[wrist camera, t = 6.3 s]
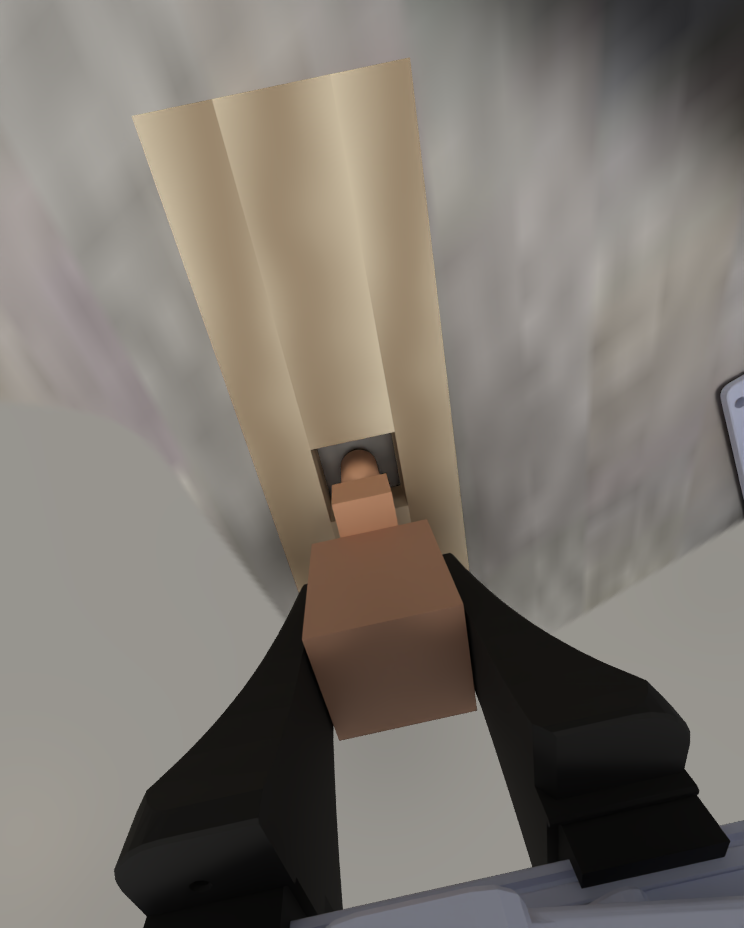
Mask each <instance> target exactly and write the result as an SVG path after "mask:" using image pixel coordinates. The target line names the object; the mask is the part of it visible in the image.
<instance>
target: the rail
mask: <svg viewBox="0 0 744 928" xmlns="http://www.w3.org/2000/svg"><path fill="white" fill-rule="evenodd" d="M132 118H133V121H134V124H135V127H136V130H137V133H138V136H139V138H140V141H141V144H142V147H143V150H144V153H145V155H146V158H147V161H148V164H149V167H150V170H151V173H152V175H153V178H154V181H155V184H156V187H157V190H158V193H159V195H160V198H161V201H162V204H163V207H164V210H165V212H166V215H167V218H168V221H169V224H170V227H171V230H172V232H173V235H174V238H175V241H176V244H177V247H178V250H179V252H180V255H181V258H182V261H183V264H184V267H185V269H186V272H187V275H188V278H189V281H190V284H191V287H192V289H193V292H194V295H195V298H196V301H197V304H198V307H199V309H200V312H201V315H202V318H203V321H204V324H205V326H206V329H207V332H208V335H209V338H210V341H211V344H212V346H213V349H214V352H215V355H216V358H217V361H218V364H219V366H220V369H221V372H222V375H223V378H224V381H225V383H226V386H227V389H228V392H229V395H230V398H231V401H232V403H233V406H234V409H235V412H236V415H237V418H238V421H239V423H240V426H241V429H242V432H243V435H244V438H245V440H246V443H247V446H248V449H249V452H250V455H251V458H252V460H253V463H254V466H255V469H256V472H257V475H258V478H259V480H260V483H261V486H262V489H263V492H264V495H265V497H266V500H267V503H268V506H269V509H270V512H271V515H272V517H273V520H274V523H275V526H276V529H277V532H278V535H279V537H280V540H281V543H282V546H283V549H284V552H285V554H286V557H287V560H288V563H289V566H290V569H291V572H292V574H293V577H294V580H295V583H296V586H297V589H298V592H300V590H301V588H302V587H303V585H304V584H308V576H309V566H310V556H311V546H312V544H314V543H319V542H323V541H328V540H333V539H337V538H340V534H339V530H338V527H337V523H336V519H335V516H334V512H333V508H332V500H331V498H330V494H329V490H328V487H327V483H326V479H325V476H324V472H323V468H322V465H321V461H320V457H319V454H318V450H317V448H322V447H327V446H331V445H336V444H341V443H345V442H350V441H354V440H359V439H364V438H368V437H373V436H378V435H382V434H387V433H391V435H392V441H393V446H394V452H395V457H396V462H397V468H398V473H399V479H400V484H401V485H400V486H395V487H391V492H392V497H393V502H394V507H395V512H396V517H397V522H398V525H402V524H406V523H411V522H416V521H420V520H425V519H427V520H428V523H429V525H430V527H431V530H432V532H433V534H434V537H435V539H436V541H437V544H438V546H439V548H440V551H441V553H442V554H446V553H451V554H453V555H454V556H455V557H456V558H457V559H458V560H459V562H460V563H461V564H462V565H463V566H464V567H465V568H466V569H467V570H468V571H469V564H468V556H467V547H466V538H465V530H464V521H463V512H462V504H461V495H460V487H459V478H458V469H457V461H456V452H455V443H454V435H453V426H452V417H451V409H450V400H449V392H448V383H447V374H446V366H445V357H444V348H443V340H442V331H441V322H440V314H439V305H438V297H437V288H436V279H435V271H434V262H433V253H432V245H431V236H430V227H429V219H428V210H427V202H426V193H425V184H424V176H423V167H422V158H421V150H420V141H419V132H418V124H417V115H416V107H415V98H414V89H413V81H412V72H411V63H410V58H405V59H401V60H396V61H391V62H386V63H382V64H377V65H372V66H367V67H363V68H358V69H353V70H348V71H344V72H339V73H334V74H329V75H325V76H320V77H315V78H310V79H306V80H301V81H296V82H292V83H287V84H282V85H277V86H273V87H268V88H263V89H258V90H254V91H249V92H244V93H239V94H235V95H230V96H225V97H220V98H216V99H211V100H206V101H201V102H197V103H192V104H187V105H182V106H178V107H173V108H168V109H163V110H159V111H154V112H149V113H144V114H140V115H135V116H132Z"/></svg>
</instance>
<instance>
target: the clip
mask: <svg viewBox="0 0 744 928" xmlns="http://www.w3.org/2000/svg"><path fill="white" fill-rule="evenodd" d="M332 508H333V512H334V516H335V519H336V523H337V527H338V530H339V534H340V538H337V539H333V540H328V541H323V542H319V543H314V544H312V546H311V556H310V566H309V576H308V585H307V595H306V605H305V615H304V624H303V634H302V641H303V644H304V647H305V649H306V652H307V655H308V657H309V660H310V663H311V665H312V668H313V671H314V674H315V676H316V679H317V682H318V684H319V687H320V690H321V692H322V695H323V698H324V701H325V703H326V706H327V709H328V711H329V714H330V717H331V719H332V722H333V725H334V727H335V730H336V733H337V735H338V738H339V740H345V739H349V738H354V737H358V736H363V735H368V734H372V733H377V732H381V731H386V730H391V729H395V728H400V727H404V726H409V725H413V724H418V723H422V722H427V721H431V720H436V719H441V718H445V717H450V716H454V715H459V714H463V713H468V712H472V711H477V706H476V699H475V690H474V683H473V675H472V667H471V659H470V652H469V644H468V636H467V628H466V621H465V613H464V605H463V602H462V600H461V598H460V595H459V593H458V591H457V588H456V586H455V584H454V581H453V579H452V577H451V574H450V572H449V570H448V567H447V565H446V563H445V560H444V558H443V556H442V553H441V551H440V548H439V546H438V544H437V541H436V539H435V537H434V534H433V532H432V530H431V527H430V525H429V523H428V520H427V519H425V520H420V521H416V522H411V523H406V524H402V525H398V522H397V517H396V512H395V507H394V502H393V497H392V492H391V488H390V485H389V482H388V478H387V475H386V473H385V474H379V470H378V466H377V463H376V460H375V458H374V456H373V455H372V454H371V453H369V452H367V451H365V450H354V451H351V452H349V453H348V454H347V455H346V456H345V457H344V458H343V460H342V462H341V483H339V484H334V485H332Z"/></svg>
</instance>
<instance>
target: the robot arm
mask: <svg viewBox="0 0 744 928" xmlns="http://www.w3.org/2000/svg"><path fill="white" fill-rule="evenodd" d="M736 400H737V402H736ZM721 402H722V406H723V411H724V415H725V420H726V424H727V428H728V433H729V437H730V441H731V446H732V450H733V454H734V459H735V463H736V468H737V472H738V476H739V481H740V485H741V489H742V494H743V498H744V375H742V376H740V377H739V378H737V379H735V380H733V381H731V382H730V383H728V384H727V385H726V386H725V387H724V388H723V389H722V391H721ZM735 402H736V403H735ZM442 556H443V558H444V560H445V563H446V565H447V567H448V570H449V572H450V574H451V577H452V579H453V581H454V584H455V586H456V588H457V591H458V593H459V595H460V598H461V600H462V602H463V605H464V613H465V621H466V628H467V636H468V644H469V652H470V659H471V667H472V675H473V683H474V690H475V692H476V695H477V697H478V700H479V702H480V705H481V708H482V711H483V714H484V716H485V720H486V723H487V726H488V728H489V732H490V735H491V738H492V740H493V744H494V747H495V750H496V753H497V756H498V759H499V762H500V765H501V768H502V771H503V775H504V778H505V781H506V784H507V787H508V790H509V793H510V797H511V800H512V803H513V805H514V809H515V812H516V815H517V819H518V821H519V825H520V828H521V831H522V835H523V838H524V841H525V844H526V847H527V851H528V854H529V857H530V861H531V864H532V868H527V869H522V870H518V871H514V872H509V873H505V874H500V875H496V876H491V877H487V878H482V879H478V880H473V881H469V882H464V883H460V884H455V885H451V886H446V887H442V888H437V889H433V890H429V891H424V892H419V893H415V894H411V895H406V896H401V897H397V898H392V899H388V900H383V901H379V902H375V903H370V904H365V905H361V906H356V907H352V908H348V909H343V906H342V893H341V879H340V865H339V849H338V832H337V815H336V794H335V774H334V746H333V726H334V725H333V722H332V719H331V717H330V714H329V711H328V709H327V706H326V703H325V701H324V698H323V695H322V692H321V690H320V687H319V684H318V682H317V679H316V676H315V674H314V671H313V668H312V665H311V663H310V660H309V657H308V655H307V652H306V649H305V647H304V644H303V641H302V634H303V624H304V615H305V605H306V595H307V585H308V584H304V585H303V587H302V588H301V590H300V592H299V594H298V596H297V599H296V601H295V603H294V605H293V607H292V609H291V611H290V613H289V615H288V617H287V619H286V621H285V622H284V624H283V626H282V628H281V630H280V632H279V634H278V636H277V637H276V639H275V641H274V642H273V644H272V646H271V647H270V649H269V651H268V652H267V654H266V656H265V657H264V659H263V660H262V662H261V663H260V665H259V666H258V668H257V669H256V671H255V672H254V674H253V675H252V677H251V678H250V680H249V681H248V682H247V684H246V685H245V686H244V688H243V689H242V690H241V692H240V693H239V694H238V696H237V697H236V698H235V699H234V701H233V702H232V703H231V704H230V705H229V707H228V708H227V709H226V710H225V712H224V713H223V714H222V715H221V717H220V718H219V719H218V720H217V721H216V722H215V723H214V724H213V726H212V727H211V728H210V729H209V730H208V731H207V732H206V733H205V734H204V735H203V737H202V738H201V739H200V740H199V741H198V742H197V743H196V744H195V745H194V746H193V747H192V748H191V749H190V750H189V751H188V752H187V753H186V754H185V755H184V756H183V757H182V758H181V759H180V760H179V761H178V762H177V763H176V764H175V765H174V766H173V767H172V768H170V769H169V770H168V771H167V772H166V773H165V774H164V775H163V776H162V777H161V778H160V779H159V780H158V781H157V782H156V783H155V784H154V785H152V786H151V787H150V788H149V789H148V790H147V791H146V793H145V795H144V797H143V800H142V802H141V804H140V806H139V809H138V811H137V813H136V815H135V818H134V820H133V823H132V825H131V828H130V831H129V833H128V836H127V838H126V841H125V843H124V846H123V849H122V851H121V854H120V856H119V859H118V861H117V864H116V867H115V869H114V872H115V880H116V882H117V884H118V886H119V887H120V889H121V890H122V892H123V893H124V894H125V895H126V896H127V897H128V898H129V899H130V900H131V901H132V902H133V903H134V904H135V905H136V906H137V907H138V908H139V909H140V910H141V911H142V912H143V913H144V914H145V915H146V916H147V918H146V921H145V924H144V927H143V928H744V820H743V821H738V822H734V823H729V824H725V825H720V826H719V825H718V823H717V822H716V821H715V819H714V818H713V817H712V815H711V814H710V813H709V811H708V810H707V808H706V807H705V806H704V805H703V803H702V802H701V800H700V799H699V798H698V796H697V795H698V794H699V789H698V787H697V785H696V784H695V782H694V781H693V779H692V778H691V777H690V776H689V774H688V773H687V772H686V770H685V769H684V768H685V763H686V759H687V754H688V750H689V746H690V730H689V728H688V726H687V724H686V722H685V721H684V720H683V719H682V718H681V717H680V715H679V714H678V713H677V712H676V711H675V710H674V708H673V707H672V706H671V705H670V704H669V703H668V702H667V701H666V700H665V698H664V697H663V696H662V695H661V694H660V693H659V692H658V691H656V689H654V688H653V687H652V686H651V685H650V684H649V683H648V681H646V680H644V679H642V678H639V677H637V676H635V675H632V674H630V673H627V672H625V671H622V670H620V669H618V668H615V667H613V666H610V665H608V664H606V663H603V662H601V661H599V660H597V659H595V658H593V657H591V656H589V655H586V654H585V653H583V652H580V651H578V650H577V649H575V648H573V647H571V646H569V645H568V644H566V643H564V642H562V641H561V640H559V639H557V638H555V637H553V636H552V635H550V634H548V633H547V632H545V631H544V630H542V629H540V628H539V627H537V626H536V625H534V624H533V623H531V622H530V621H528V620H527V619H525V618H524V617H522V616H521V615H520V614H518V613H517V612H516V611H514V610H513V609H512V608H510V607H509V606H508V605H506V604H505V603H504V602H503V601H501V600H500V599H499V598H498V597H496V596H495V595H494V594H493V593H492V592H491V591H489V590H488V589H487V588H486V587H485V586H484V585H483V584H482V583H481V582H479V581H478V580H477V579H476V578H475V577H474V576H473V575H472V574H471V573H470V572H469V571H468V570H467V569H466V568H465V567H464V566H463V565H462V564H461V563H460V562H459V560H458V559H457V558H456V557H455V556H454V555H453V554H451V553H446V554H442Z"/></svg>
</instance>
